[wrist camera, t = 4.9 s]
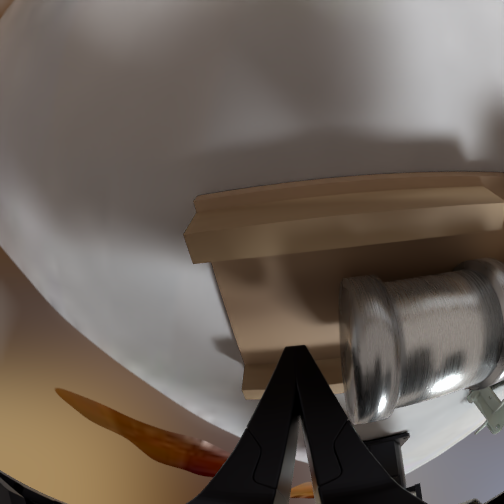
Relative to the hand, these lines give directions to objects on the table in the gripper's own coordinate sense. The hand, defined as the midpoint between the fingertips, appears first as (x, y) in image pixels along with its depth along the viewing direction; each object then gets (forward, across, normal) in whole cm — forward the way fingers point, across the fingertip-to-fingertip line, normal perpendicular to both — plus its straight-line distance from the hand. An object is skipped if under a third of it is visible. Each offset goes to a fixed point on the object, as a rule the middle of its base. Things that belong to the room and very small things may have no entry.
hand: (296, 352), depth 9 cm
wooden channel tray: (+2, -6, 0) cm, 7 cm away
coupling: (+2, -5, 0) cm, 5 cm away
